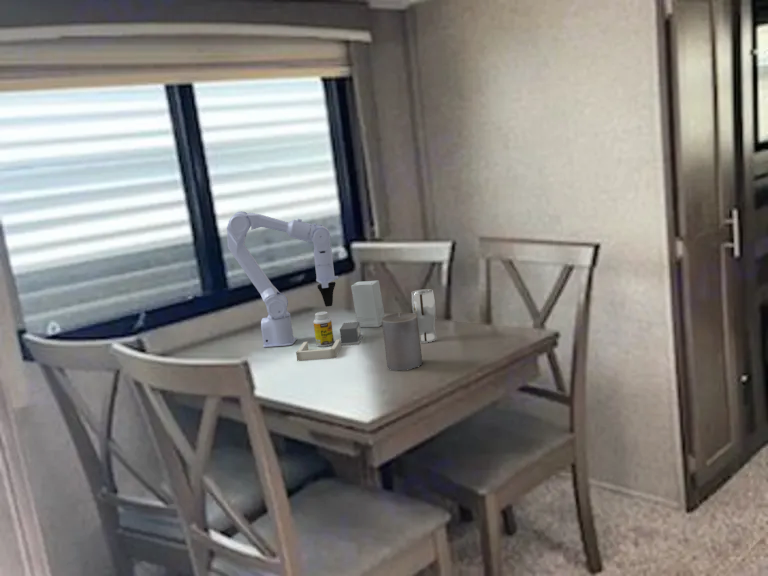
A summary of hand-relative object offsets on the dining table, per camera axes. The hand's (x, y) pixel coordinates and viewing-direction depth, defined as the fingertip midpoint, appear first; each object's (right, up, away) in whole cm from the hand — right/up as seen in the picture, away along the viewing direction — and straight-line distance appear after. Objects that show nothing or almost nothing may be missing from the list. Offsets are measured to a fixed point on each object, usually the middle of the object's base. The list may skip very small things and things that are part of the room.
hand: (328, 305), depth 247 cm
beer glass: (+31, -10, -14) cm, 35 cm away
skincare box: (+13, -7, +11) cm, 19 cm away
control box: (+7, -11, -6) cm, 14 cm away
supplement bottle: (-1, -12, -7) cm, 14 cm away
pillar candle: (+23, -16, -37) cm, 46 cm away
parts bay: (-2, -14, -15) cm, 21 cm away
